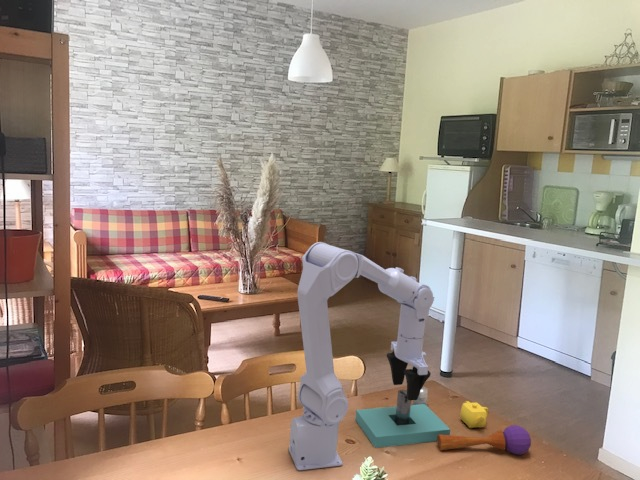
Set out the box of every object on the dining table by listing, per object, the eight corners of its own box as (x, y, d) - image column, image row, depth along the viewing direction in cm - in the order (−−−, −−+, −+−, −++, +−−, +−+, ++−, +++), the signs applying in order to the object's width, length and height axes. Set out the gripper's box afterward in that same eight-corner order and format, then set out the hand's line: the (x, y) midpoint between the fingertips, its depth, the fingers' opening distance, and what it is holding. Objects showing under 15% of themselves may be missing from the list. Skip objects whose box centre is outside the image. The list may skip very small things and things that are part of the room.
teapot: (494, 433, 123) (497, 412, 122) (472, 434, 121) (475, 413, 120) (477, 415, 130) (480, 396, 129) (456, 416, 129) (458, 397, 128)
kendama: (435, 424, 117) (523, 421, 118) (435, 451, 117) (524, 447, 118) (442, 433, 111) (535, 430, 112) (443, 461, 111) (536, 458, 112)
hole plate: (375, 447, 113) (376, 437, 112) (355, 419, 124) (356, 409, 124) (449, 439, 118) (450, 429, 118) (423, 413, 129) (424, 403, 129)
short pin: (416, 409, 131) (418, 392, 131) (411, 403, 134) (412, 386, 134) (428, 408, 132) (430, 391, 132) (422, 402, 135) (424, 385, 135)
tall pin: (397, 433, 119) (401, 396, 118) (391, 426, 122) (395, 390, 121) (410, 432, 120) (414, 395, 118) (404, 425, 123) (408, 389, 122)
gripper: (443, 345, 112) (436, 405, 114) (412, 323, 125) (406, 376, 127) (413, 347, 109) (406, 407, 112) (385, 324, 123) (379, 378, 125)
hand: (404, 391), depth 119 cm, fingers open, 7 cm apart
